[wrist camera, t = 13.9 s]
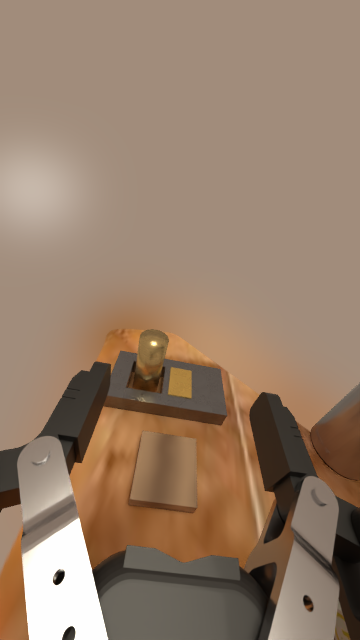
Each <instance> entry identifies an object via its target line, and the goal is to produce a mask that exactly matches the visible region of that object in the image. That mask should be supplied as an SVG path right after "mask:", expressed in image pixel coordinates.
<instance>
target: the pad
mask: <svg viewBox="0 0 360 640" xmlns="http://www.w3.org/2000/svg"><path fill="white" fill-rule="evenodd" d="M129 505H135V506H143V507H151V508H159V509H166V510H174V511H182V512H190V513H193V512H194V511H195V510H196V509H197V460H196V439H193V438H187V437H181V436H174V435H168V434H161V433H155V432H149V431H142V436H141V441H140V446H139V452H138V457H137V462H136V468H135V473H134V478H133V484H132V489H131V494H130V500H129Z"/></svg>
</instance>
